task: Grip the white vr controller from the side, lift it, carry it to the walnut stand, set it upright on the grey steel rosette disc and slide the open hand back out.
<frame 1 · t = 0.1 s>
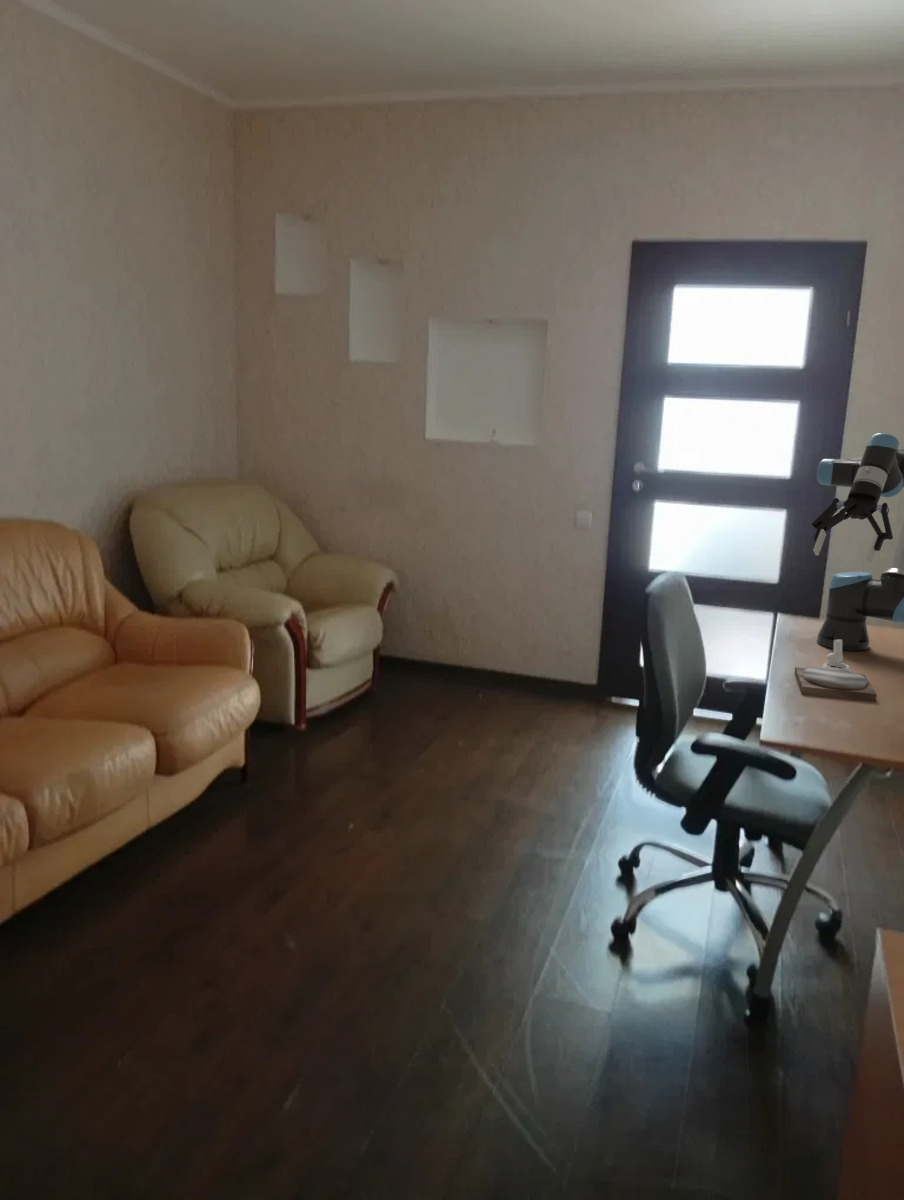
hand: (841, 556, 234), 36 cm above the table, tool tilted 35°, fingers open, 13 cm apart
white vr controller: (835, 671, 258), on the table
rosette stand: (833, 687, 243), on the table
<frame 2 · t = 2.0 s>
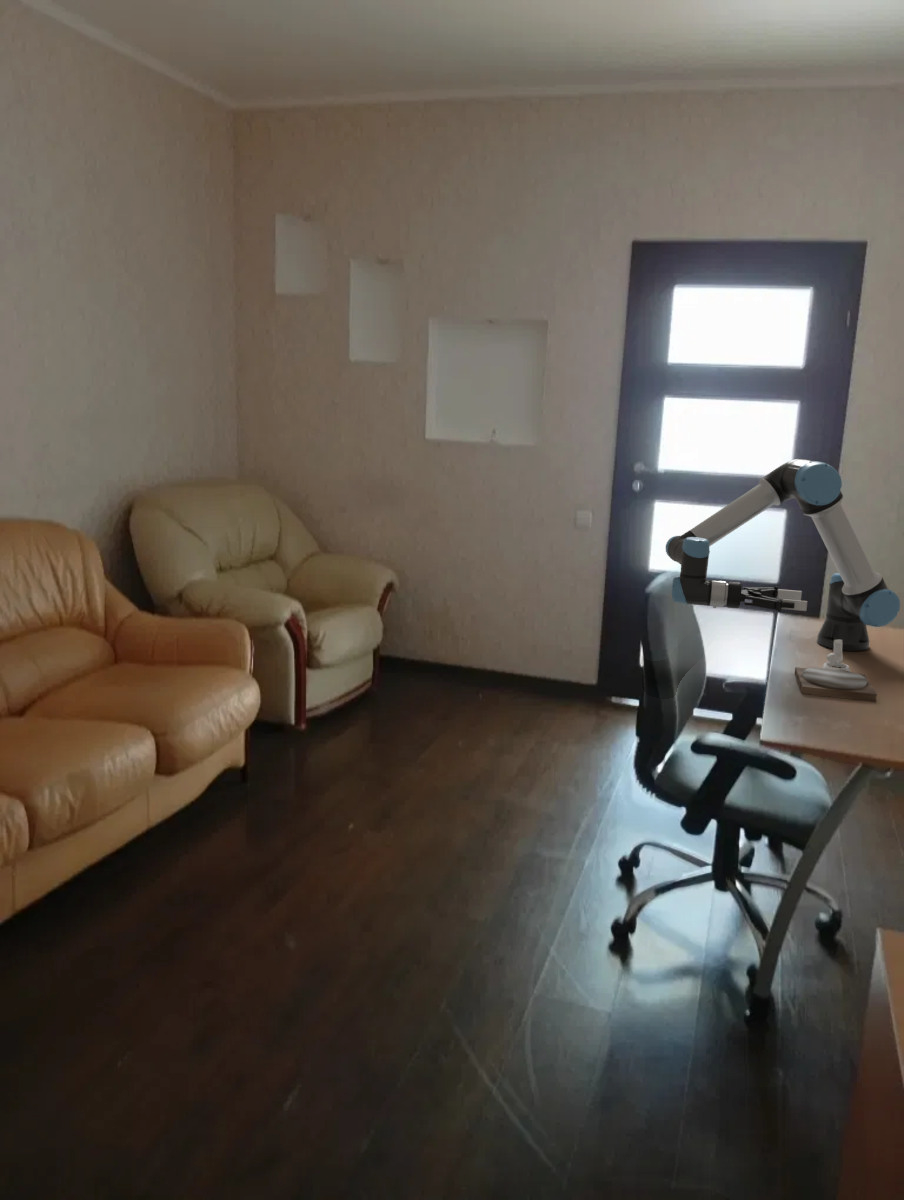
hand: (804, 600, 256), 19 cm above the table, tool horizontal, fingers open, 13 cm apart
nothing on the table moved.
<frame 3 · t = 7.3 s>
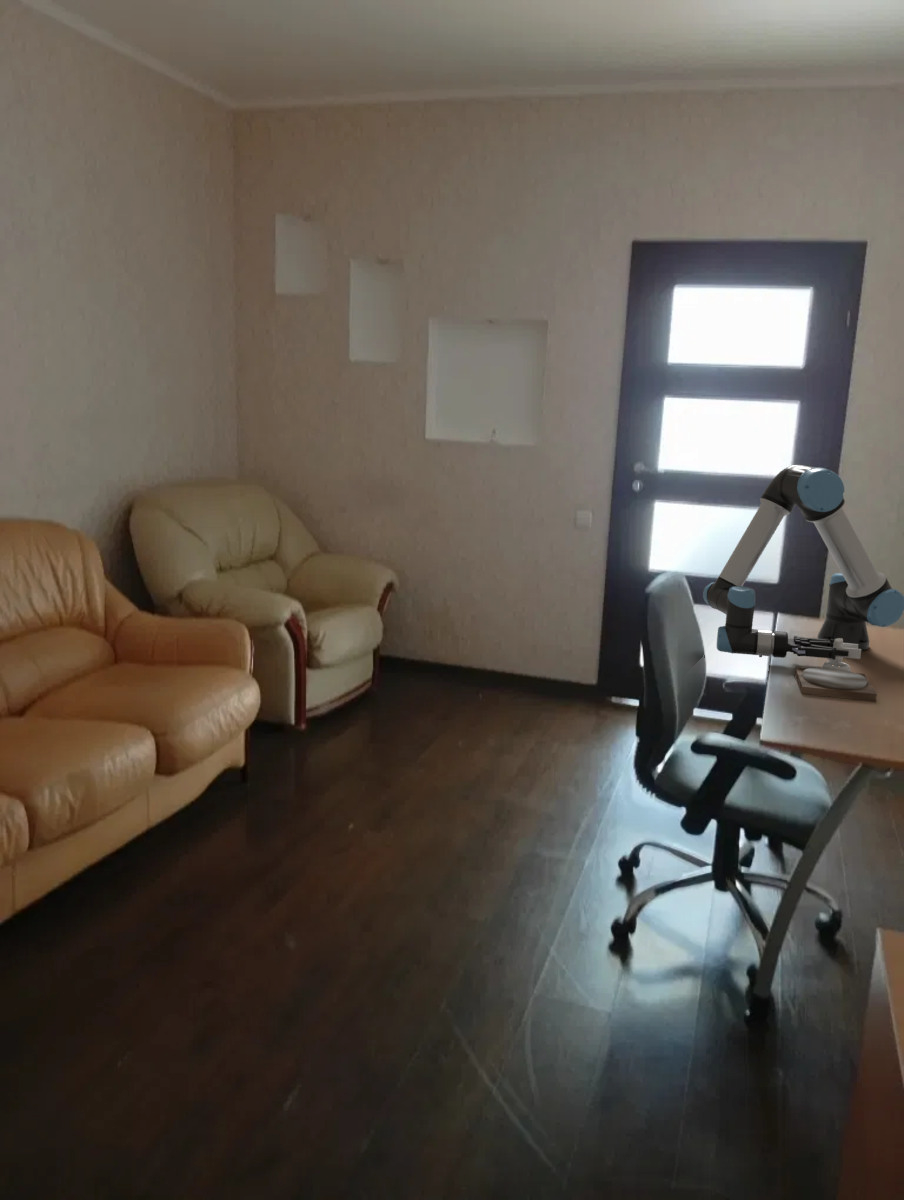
hand: (858, 651, 255), 6 cm above the table, tool horizontal, fingers closed on white vr controller, 4 cm apart
white vr controller: (836, 670, 258), on the table, touching gripper
when the fingers open (9 cm above the table, at t = 13.5 s): white vr controller stays where it is, resting on rosette stand.
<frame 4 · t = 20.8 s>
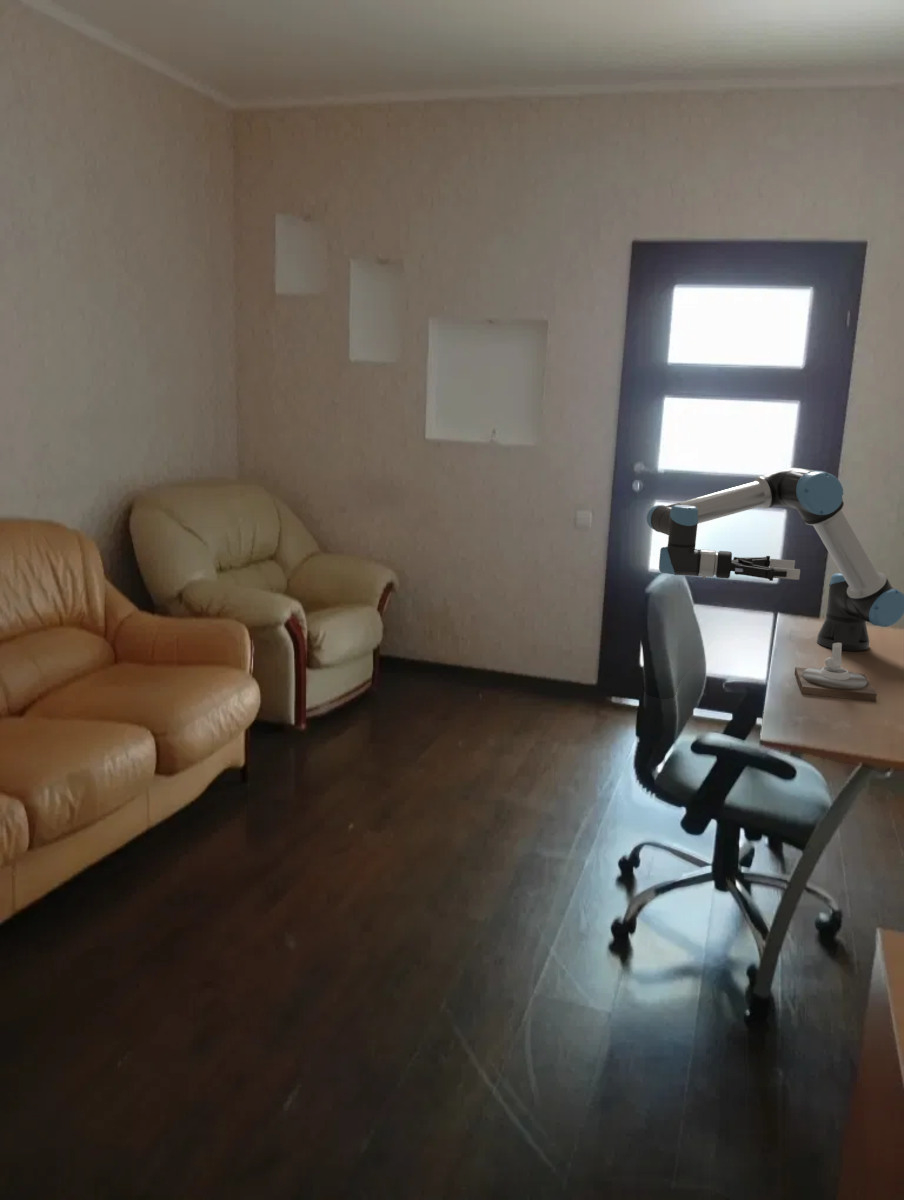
hand: (797, 569, 245), 30 cm above the table, tool horizontal, fingers open, 13 cm apart
white vr controller: (834, 676, 243), point 3 cm above the table, touching rosette stand
at the end: white vr controller inside the target area on the rosette stand (0.7 cm from its centre), point 2.8 cm above the rosette stand's base; white vr controller tilted 1°; the gripper is holding nothing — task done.
